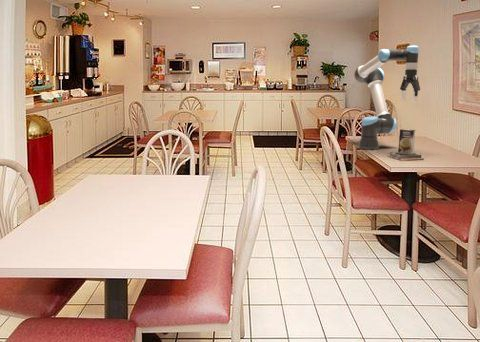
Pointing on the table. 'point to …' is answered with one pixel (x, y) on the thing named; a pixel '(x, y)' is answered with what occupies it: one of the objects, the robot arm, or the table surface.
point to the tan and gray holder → (405, 156)
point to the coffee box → (406, 141)
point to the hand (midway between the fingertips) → (409, 100)
